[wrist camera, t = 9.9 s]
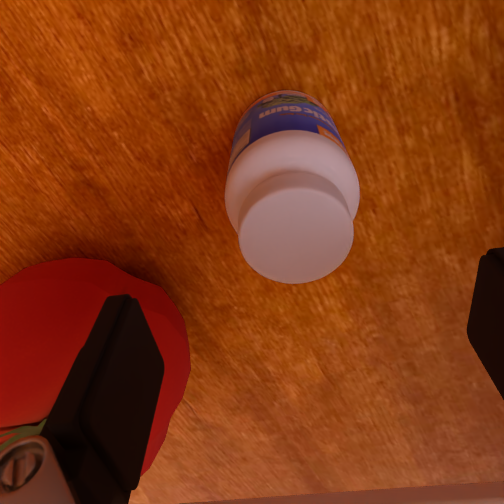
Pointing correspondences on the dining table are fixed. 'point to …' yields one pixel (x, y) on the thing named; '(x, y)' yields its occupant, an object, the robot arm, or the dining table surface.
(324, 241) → the pill bottle
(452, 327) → the dining table surface
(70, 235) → the dining table surface
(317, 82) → the dining table surface
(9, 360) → the tomato
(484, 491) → the robot arm
